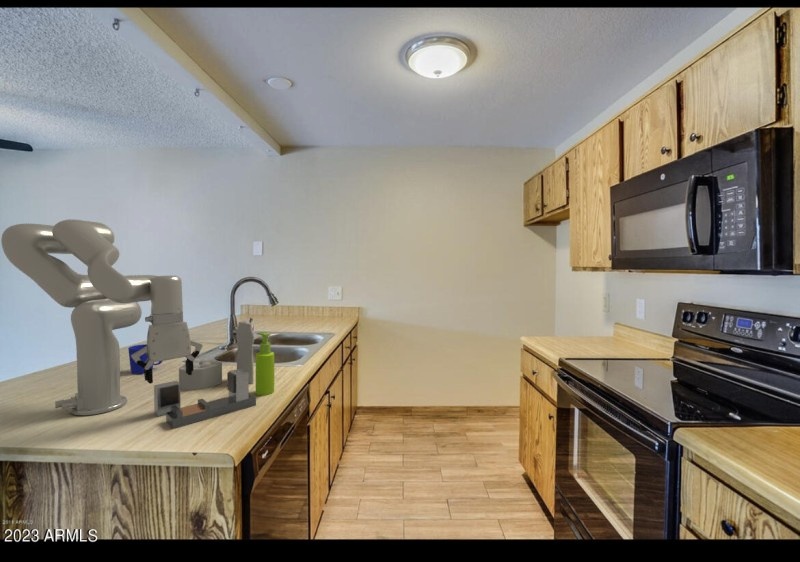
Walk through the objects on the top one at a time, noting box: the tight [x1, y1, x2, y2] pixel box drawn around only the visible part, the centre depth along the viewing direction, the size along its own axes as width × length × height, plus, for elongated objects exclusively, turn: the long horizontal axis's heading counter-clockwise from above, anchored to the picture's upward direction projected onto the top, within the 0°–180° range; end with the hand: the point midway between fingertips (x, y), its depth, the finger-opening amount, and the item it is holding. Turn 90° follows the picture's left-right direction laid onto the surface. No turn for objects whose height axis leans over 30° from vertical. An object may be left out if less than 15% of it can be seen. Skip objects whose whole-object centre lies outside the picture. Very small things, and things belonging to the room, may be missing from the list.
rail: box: [165, 368, 257, 430], centre depth 101 cm, size 22×6×10 cm, turn 137°
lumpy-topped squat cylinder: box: [178, 357, 223, 392], centre depth 124 cm, size 10×13×9 cm
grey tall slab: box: [235, 320, 255, 385], centre depth 128 cm, size 11×4×22 cm, turn 55°
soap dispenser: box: [255, 331, 275, 396], centre depth 118 cm, size 6×7×20 cm
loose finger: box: [153, 380, 182, 417], centre depth 101 cm, size 4×6×8 cm
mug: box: [127, 343, 163, 375], centre depth 137 cm, size 8×12×10 cm
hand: (170, 378), depth 101 cm, fingers open, 9 cm apart
